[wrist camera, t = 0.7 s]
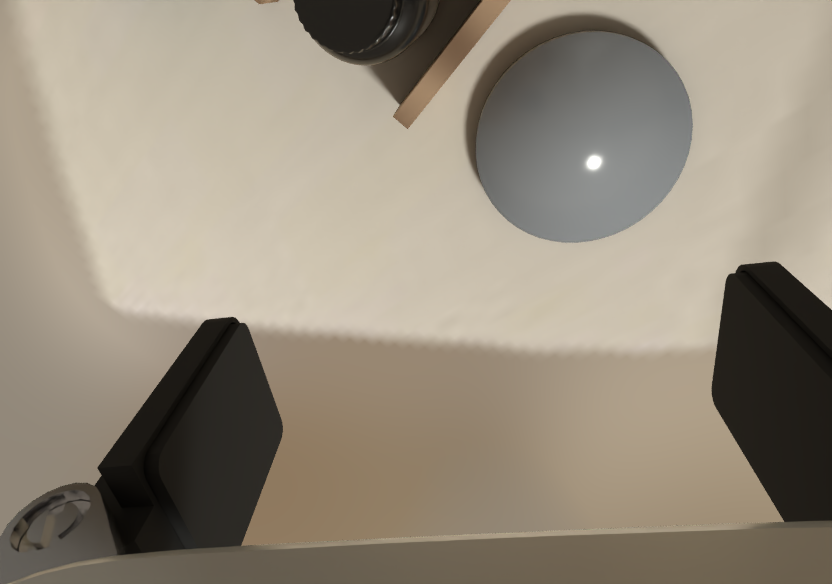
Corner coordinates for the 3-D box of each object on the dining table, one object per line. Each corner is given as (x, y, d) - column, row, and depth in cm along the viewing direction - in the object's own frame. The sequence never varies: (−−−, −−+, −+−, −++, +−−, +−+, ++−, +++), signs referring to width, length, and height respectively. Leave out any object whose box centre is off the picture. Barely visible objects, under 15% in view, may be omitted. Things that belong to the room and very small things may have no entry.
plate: (584, -23, 33) (587, -22, 32) (732, 130, 37) (739, 135, 36) (435, 153, 39) (433, 158, 38) (573, 269, 43) (575, 277, 42)
